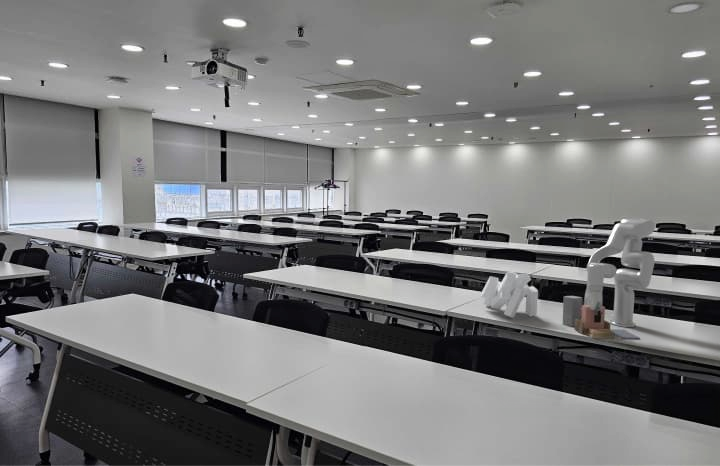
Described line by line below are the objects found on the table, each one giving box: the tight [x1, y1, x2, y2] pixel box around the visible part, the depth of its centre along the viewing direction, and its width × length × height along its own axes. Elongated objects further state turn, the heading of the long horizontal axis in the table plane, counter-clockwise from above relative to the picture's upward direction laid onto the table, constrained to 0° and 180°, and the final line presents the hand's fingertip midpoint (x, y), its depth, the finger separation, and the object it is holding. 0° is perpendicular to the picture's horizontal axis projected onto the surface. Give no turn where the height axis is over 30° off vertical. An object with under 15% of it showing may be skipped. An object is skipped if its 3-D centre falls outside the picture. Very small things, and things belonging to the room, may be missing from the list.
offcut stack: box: [587, 329, 614, 339], centre depth 228 cm, size 4×11×4 cm, turn 91°
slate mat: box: [610, 328, 641, 340], centre depth 232 cm, size 14×9×1 cm, turn 1°
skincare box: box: [562, 295, 583, 327], centre depth 249 cm, size 8×7×16 cm
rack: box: [574, 319, 612, 335], centre depth 236 cm, size 7×15×6 cm, turn 91°
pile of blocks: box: [481, 271, 539, 319], centre depth 269 cm, size 35×30×35 cm
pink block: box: [581, 304, 606, 329], centre depth 235 cm, size 4×10×14 cm, turn 91°
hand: (592, 319), depth 235 cm, fingers open, 9 cm apart
